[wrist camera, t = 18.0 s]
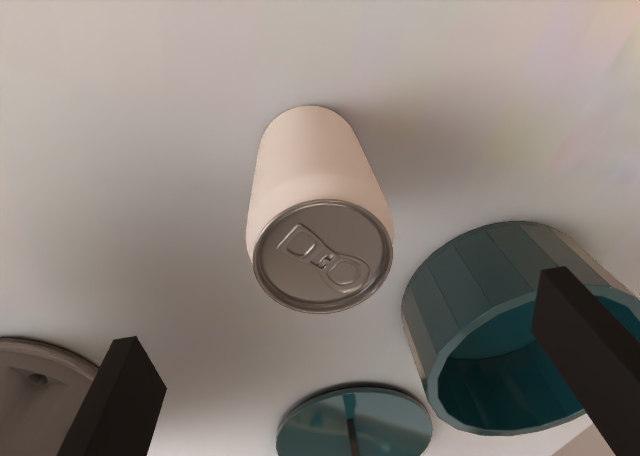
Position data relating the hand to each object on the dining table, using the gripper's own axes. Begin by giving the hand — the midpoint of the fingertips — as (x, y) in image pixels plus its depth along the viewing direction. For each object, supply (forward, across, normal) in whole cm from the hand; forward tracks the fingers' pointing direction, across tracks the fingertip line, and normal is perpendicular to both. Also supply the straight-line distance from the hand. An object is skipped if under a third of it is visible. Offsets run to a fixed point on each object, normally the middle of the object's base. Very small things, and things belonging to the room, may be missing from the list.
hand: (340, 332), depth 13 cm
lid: (+15, -1, -32) cm, 35 cm away
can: (+16, 0, 0) cm, 16 cm away
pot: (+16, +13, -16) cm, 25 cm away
